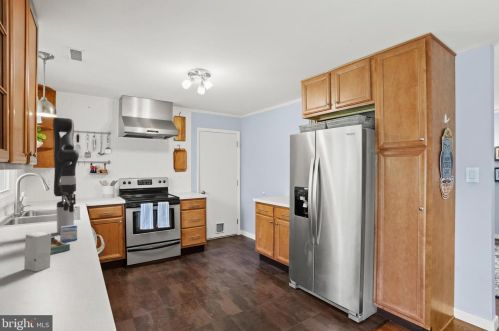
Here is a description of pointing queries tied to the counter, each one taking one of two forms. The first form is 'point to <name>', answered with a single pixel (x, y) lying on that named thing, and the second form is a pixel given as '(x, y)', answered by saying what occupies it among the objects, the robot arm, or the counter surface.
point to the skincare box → (37, 251)
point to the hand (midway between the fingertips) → (68, 211)
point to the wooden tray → (58, 246)
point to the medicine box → (68, 233)
